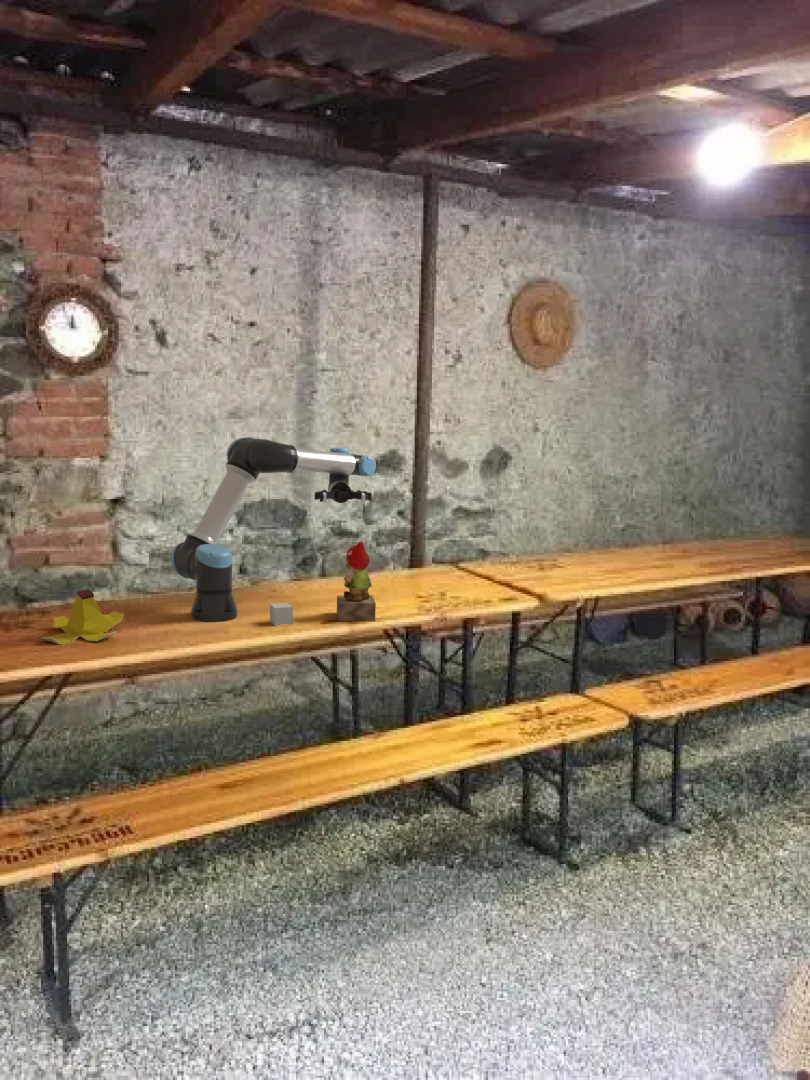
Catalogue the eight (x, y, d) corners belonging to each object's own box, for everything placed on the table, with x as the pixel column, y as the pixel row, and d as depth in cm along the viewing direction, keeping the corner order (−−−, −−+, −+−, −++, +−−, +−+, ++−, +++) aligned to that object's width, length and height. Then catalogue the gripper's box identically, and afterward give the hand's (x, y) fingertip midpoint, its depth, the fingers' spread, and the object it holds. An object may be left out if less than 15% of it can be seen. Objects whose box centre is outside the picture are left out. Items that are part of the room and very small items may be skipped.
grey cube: (274, 626, 315) (274, 608, 314) (269, 621, 320) (269, 604, 319) (292, 624, 317) (292, 606, 316) (287, 620, 323) (287, 602, 322)
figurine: (351, 595, 335) (352, 537, 332) (375, 597, 333) (376, 539, 330) (339, 601, 325) (340, 542, 322) (364, 603, 322) (365, 544, 319)
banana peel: (139, 646, 296) (140, 599, 292) (47, 656, 283) (47, 608, 278) (117, 617, 316) (117, 573, 312) (30, 626, 303) (30, 580, 299)
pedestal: (339, 621, 323) (339, 603, 322) (336, 612, 335) (336, 595, 334) (375, 620, 325) (375, 603, 324) (371, 612, 337) (371, 595, 336)
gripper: (373, 502, 363) (380, 509, 342) (306, 501, 360) (308, 509, 339) (374, 482, 362) (380, 488, 341) (306, 481, 358) (308, 487, 338)
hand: (344, 498), depth 340 cm, fingers open, 13 cm apart
